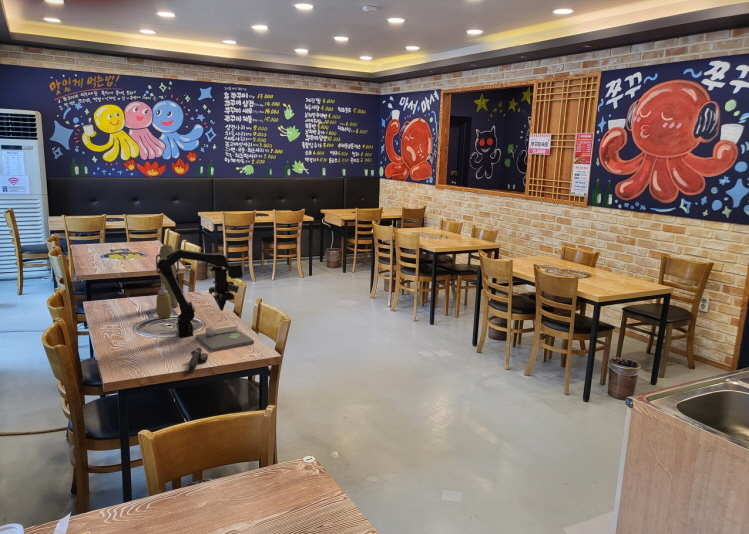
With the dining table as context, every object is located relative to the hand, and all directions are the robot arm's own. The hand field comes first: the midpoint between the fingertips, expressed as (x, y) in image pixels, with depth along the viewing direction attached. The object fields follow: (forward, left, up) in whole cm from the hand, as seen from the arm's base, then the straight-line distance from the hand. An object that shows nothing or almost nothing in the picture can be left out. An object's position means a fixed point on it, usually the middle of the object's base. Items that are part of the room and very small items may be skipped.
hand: (221, 310), depth 275 cm
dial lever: (-2, -6, -9) cm, 11 cm away
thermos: (-9, +58, -11) cm, 60 cm away
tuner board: (-4, -13, -11) cm, 17 cm away
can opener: (-25, -36, -11) cm, 45 cm away
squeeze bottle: (-17, +40, -11) cm, 45 cm away
